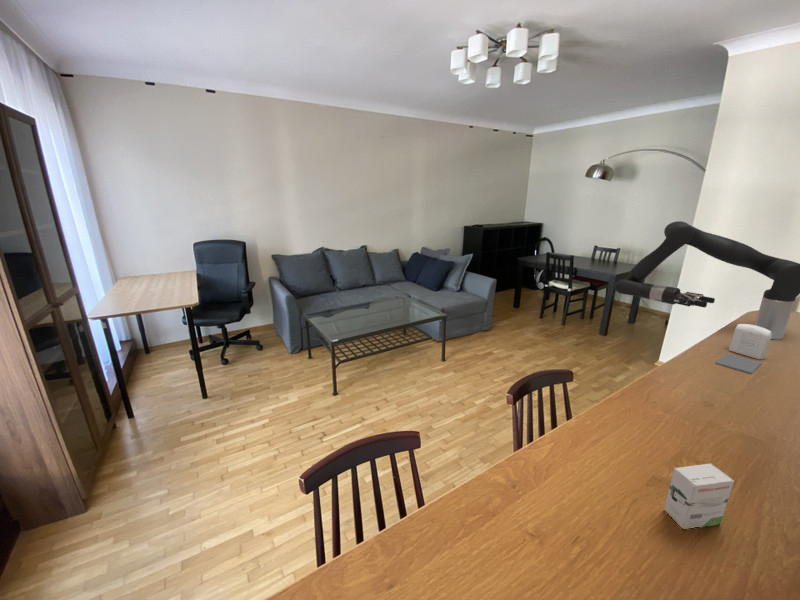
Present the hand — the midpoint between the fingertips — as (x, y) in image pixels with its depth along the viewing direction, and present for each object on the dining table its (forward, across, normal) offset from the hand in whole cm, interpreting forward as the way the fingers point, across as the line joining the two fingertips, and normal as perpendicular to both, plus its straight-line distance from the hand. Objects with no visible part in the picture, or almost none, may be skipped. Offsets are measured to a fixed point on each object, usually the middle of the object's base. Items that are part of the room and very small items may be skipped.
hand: (710, 302), depth 138 cm
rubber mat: (+15, -12, +18) cm, 26 cm away
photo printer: (+14, 0, +18) cm, 23 cm away
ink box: (+29, -101, +19) cm, 107 cm away
